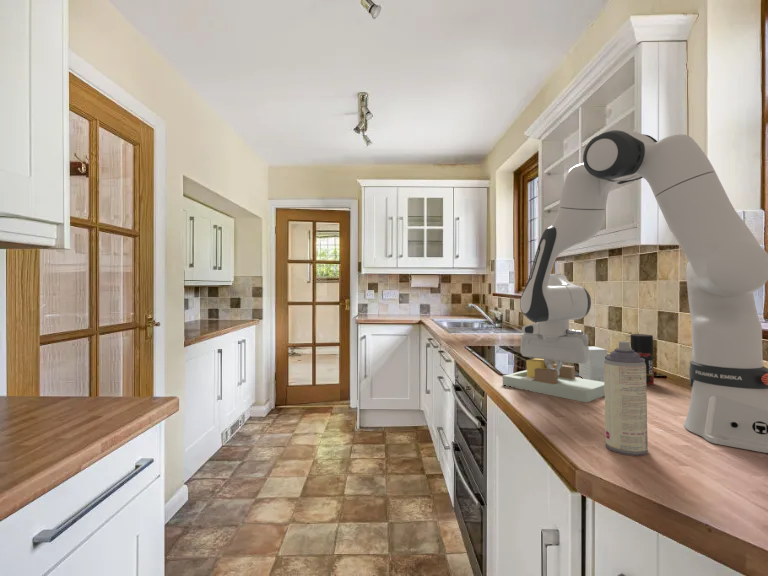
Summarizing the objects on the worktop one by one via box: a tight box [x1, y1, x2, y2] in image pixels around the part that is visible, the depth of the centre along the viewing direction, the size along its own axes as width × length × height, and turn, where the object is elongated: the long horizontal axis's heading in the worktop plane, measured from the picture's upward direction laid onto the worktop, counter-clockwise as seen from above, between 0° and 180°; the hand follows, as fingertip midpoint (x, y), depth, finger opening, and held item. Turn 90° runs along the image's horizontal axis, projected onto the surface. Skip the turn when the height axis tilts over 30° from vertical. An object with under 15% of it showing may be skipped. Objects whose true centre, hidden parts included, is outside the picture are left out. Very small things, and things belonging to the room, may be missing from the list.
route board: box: [502, 363, 605, 404], centre depth 121 cm, size 26×14×6 cm, turn 38°
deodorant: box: [630, 333, 655, 386], centre depth 127 cm, size 6×6×15 cm
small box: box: [578, 345, 608, 382], centre depth 132 cm, size 8×6×10 cm
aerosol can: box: [604, 341, 649, 457], centre depth 76 cm, size 7×7×20 cm
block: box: [525, 358, 547, 378], centre depth 125 cm, size 5×5×5 cm
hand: (553, 374), depth 121 cm, fingers closed
